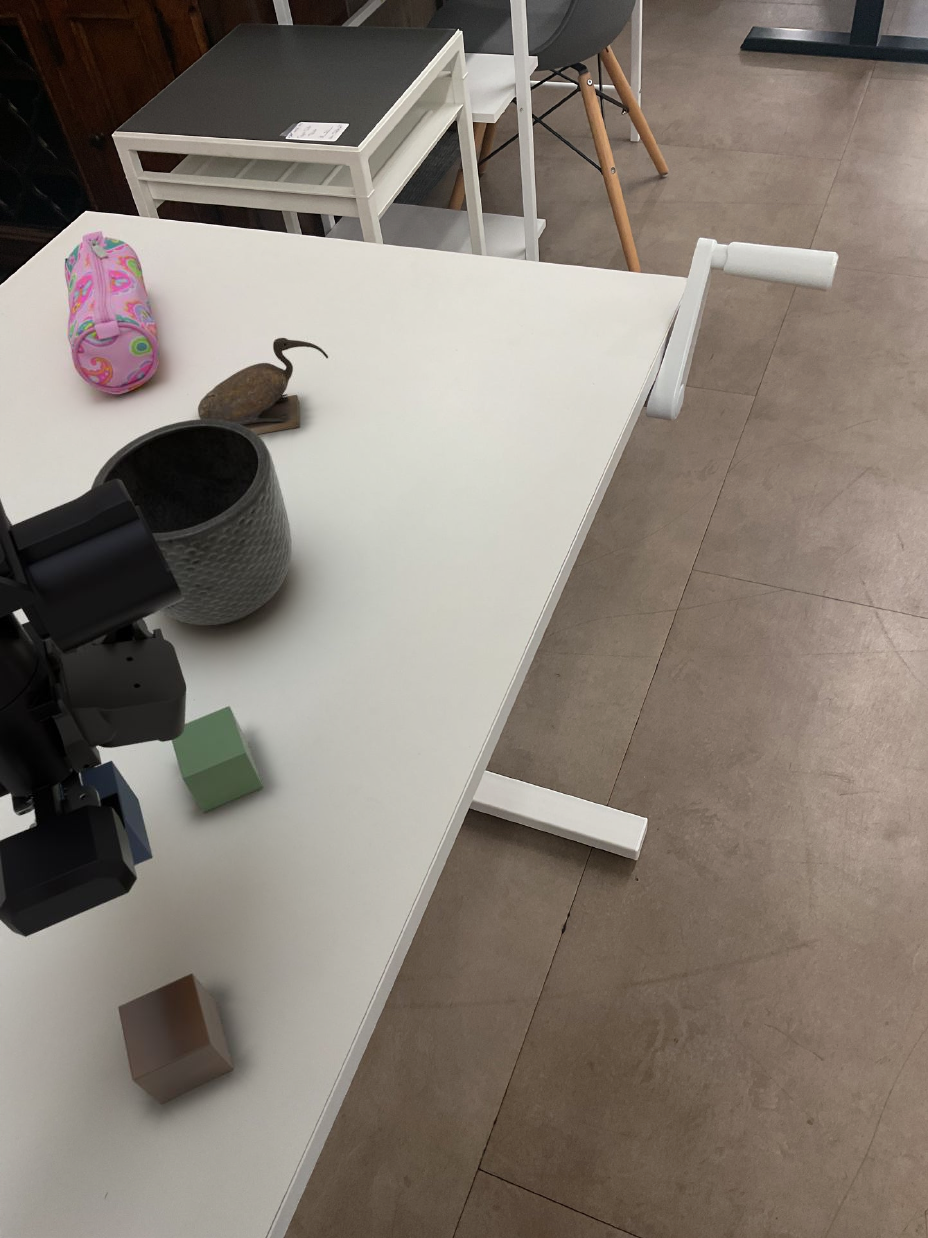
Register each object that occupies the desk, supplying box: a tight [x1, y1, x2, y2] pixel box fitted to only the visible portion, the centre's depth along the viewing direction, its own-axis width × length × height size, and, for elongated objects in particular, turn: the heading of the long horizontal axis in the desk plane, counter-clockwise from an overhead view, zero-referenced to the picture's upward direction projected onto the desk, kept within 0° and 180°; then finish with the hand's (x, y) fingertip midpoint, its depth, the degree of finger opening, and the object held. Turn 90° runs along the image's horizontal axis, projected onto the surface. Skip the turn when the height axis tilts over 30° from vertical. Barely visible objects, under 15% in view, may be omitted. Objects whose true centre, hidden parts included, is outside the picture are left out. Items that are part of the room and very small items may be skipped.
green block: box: [171, 705, 264, 813], centre depth 71 cm, size 4×4×4 cm
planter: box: [90, 418, 293, 626], centre depth 81 cm, size 14×14×13 cm
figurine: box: [197, 337, 329, 435], centre depth 97 cm, size 14×4×9 cm, turn 97°
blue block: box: [60, 760, 154, 867], centre depth 59 cm, size 4×4×4 cm
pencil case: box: [64, 231, 161, 395], centre depth 110 cm, size 21×9×9 cm, turn 17°
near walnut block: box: [117, 973, 234, 1105], centre depth 59 cm, size 4×4×4 cm
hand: (102, 835), depth 60 cm, fingers closed on blue block, 4 cm apart
